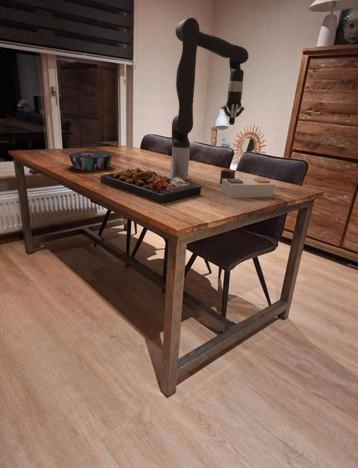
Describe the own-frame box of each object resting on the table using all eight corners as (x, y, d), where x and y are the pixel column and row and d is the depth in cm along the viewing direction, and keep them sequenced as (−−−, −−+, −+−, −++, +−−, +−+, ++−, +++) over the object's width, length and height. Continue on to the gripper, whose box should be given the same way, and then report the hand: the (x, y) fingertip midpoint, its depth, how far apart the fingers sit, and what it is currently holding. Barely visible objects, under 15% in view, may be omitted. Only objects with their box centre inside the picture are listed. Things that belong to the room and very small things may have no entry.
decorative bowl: (122, 170, 201) (122, 154, 198) (89, 174, 179) (89, 155, 176) (92, 164, 214) (92, 149, 210) (57, 167, 191) (57, 149, 188)
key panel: (230, 197, 150) (232, 185, 147) (221, 190, 160) (222, 178, 158) (273, 196, 155) (275, 184, 153) (261, 190, 166) (262, 178, 164)
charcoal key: (231, 189, 152) (232, 181, 150) (226, 186, 157) (227, 178, 155) (242, 189, 153) (243, 181, 151) (237, 186, 158) (238, 178, 156)
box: (229, 185, 171) (231, 172, 168) (219, 183, 174) (220, 170, 171) (234, 183, 176) (235, 170, 173) (224, 181, 179) (225, 168, 176)
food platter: (200, 195, 153) (202, 174, 149) (162, 205, 136) (163, 181, 132) (138, 177, 180) (138, 158, 177) (100, 183, 164) (99, 163, 160)
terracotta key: (258, 189, 155) (259, 181, 154) (252, 186, 160) (253, 178, 159) (268, 189, 157) (269, 181, 155) (262, 186, 162) (264, 178, 160)
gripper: (226, 90, 170) (223, 124, 176) (249, 91, 173) (245, 125, 180) (221, 90, 176) (218, 123, 183) (243, 91, 180) (239, 124, 187)
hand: (231, 124), depth 181 cm, fingers closed
